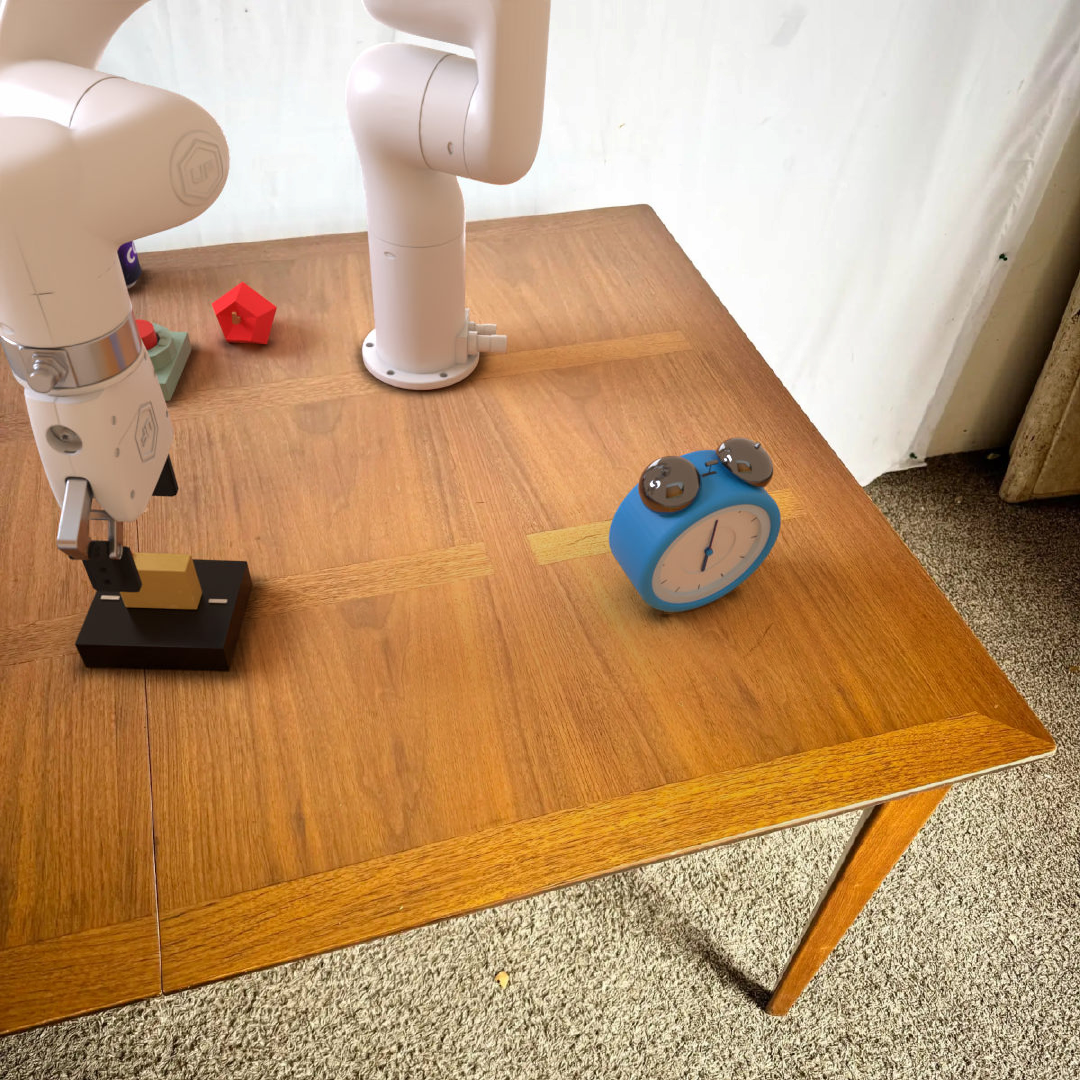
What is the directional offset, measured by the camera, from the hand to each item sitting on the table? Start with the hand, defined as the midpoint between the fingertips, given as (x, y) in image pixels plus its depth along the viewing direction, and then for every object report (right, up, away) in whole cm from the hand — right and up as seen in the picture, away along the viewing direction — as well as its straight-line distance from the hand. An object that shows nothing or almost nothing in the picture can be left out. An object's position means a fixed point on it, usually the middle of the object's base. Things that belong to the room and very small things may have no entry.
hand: (139, 538), depth 70 cm
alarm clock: (+41, -4, +14) cm, 44 cm away
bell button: (-11, +20, +27) cm, 36 cm away
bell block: (-12, +17, +30) cm, 36 cm away
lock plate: (0, -7, +8) cm, 10 cm away
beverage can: (-20, +30, +41) cm, 55 cm away
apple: (-3, +22, +35) cm, 42 cm away
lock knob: (0, -5, +5) cm, 7 cm away
